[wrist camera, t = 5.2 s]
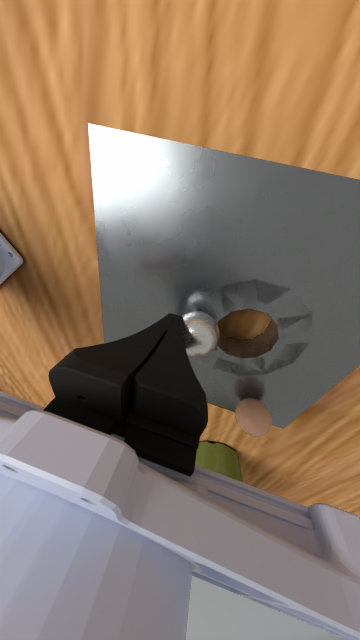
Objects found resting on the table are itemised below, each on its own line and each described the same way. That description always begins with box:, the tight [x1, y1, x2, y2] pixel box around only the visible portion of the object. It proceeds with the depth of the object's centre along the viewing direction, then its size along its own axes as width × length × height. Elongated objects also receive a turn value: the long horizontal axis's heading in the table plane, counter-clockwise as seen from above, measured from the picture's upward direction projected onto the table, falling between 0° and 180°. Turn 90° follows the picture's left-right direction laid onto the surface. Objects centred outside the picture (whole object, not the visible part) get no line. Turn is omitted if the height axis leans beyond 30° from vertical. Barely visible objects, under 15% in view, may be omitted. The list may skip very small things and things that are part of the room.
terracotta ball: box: [235, 398, 272, 437], centre depth 15 cm, size 3×3×3 cm
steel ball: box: [182, 311, 220, 357], centre depth 12 cm, size 3×3×3 cm
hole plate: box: [88, 123, 360, 429], centre depth 14 cm, size 20×19×2 cm
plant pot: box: [195, 441, 242, 482], centre depth 24 cm, size 12×12×11 cm
